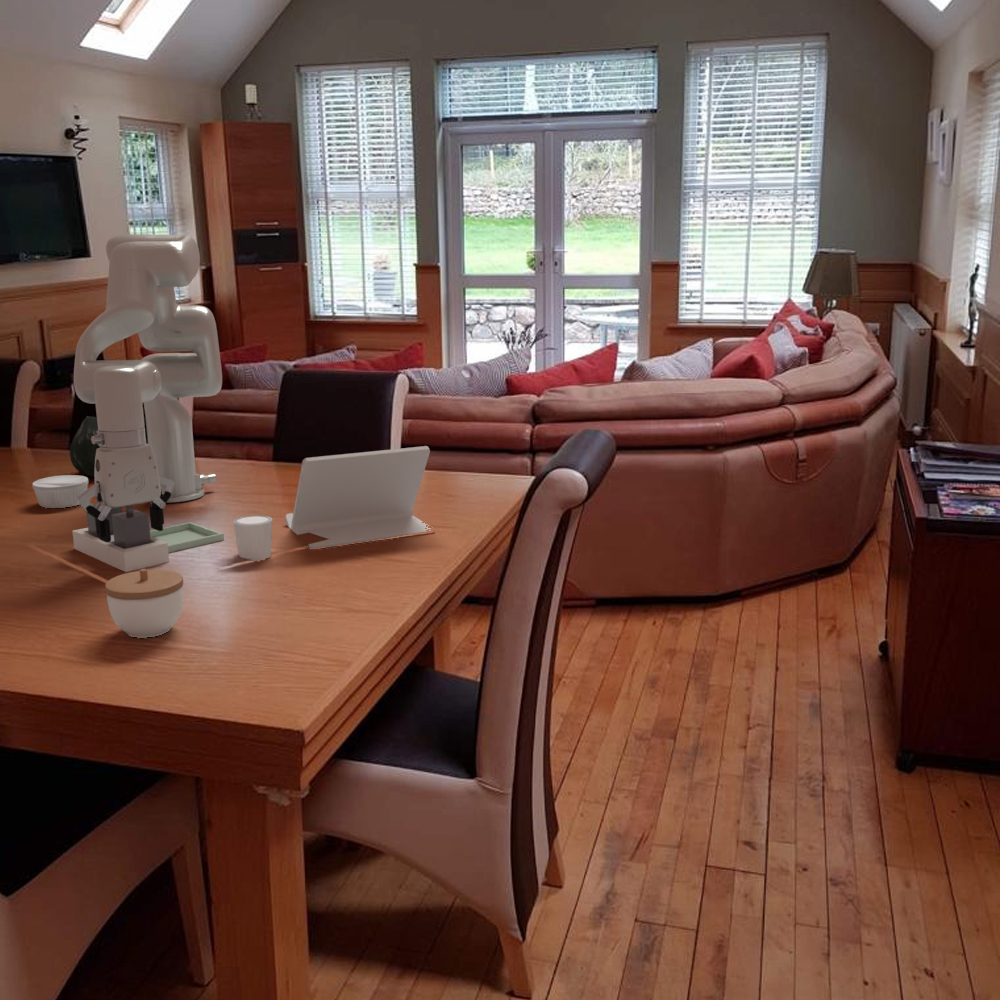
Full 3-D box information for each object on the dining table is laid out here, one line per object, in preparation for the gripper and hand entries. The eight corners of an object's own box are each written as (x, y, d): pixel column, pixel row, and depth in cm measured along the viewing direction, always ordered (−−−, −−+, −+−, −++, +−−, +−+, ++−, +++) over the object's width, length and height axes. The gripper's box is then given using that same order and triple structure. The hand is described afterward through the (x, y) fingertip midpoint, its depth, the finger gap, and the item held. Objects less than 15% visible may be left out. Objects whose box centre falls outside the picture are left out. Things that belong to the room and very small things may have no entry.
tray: (191, 530, 205) (190, 522, 204) (224, 542, 196) (223, 533, 196) (133, 543, 196) (132, 534, 196) (165, 556, 188) (164, 547, 188)
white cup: (281, 553, 190) (279, 516, 188) (261, 564, 183) (259, 526, 182) (249, 550, 192) (246, 513, 190) (227, 560, 186) (225, 522, 184)
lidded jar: (121, 619, 157) (115, 559, 155) (193, 616, 158) (188, 557, 156) (100, 646, 147) (94, 582, 145) (178, 643, 148) (173, 580, 146)
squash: (154, 450, 255) (122, 402, 257) (103, 464, 243) (69, 413, 245) (130, 483, 263) (99, 435, 265) (79, 497, 251) (47, 448, 253)
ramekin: (37, 513, 219) (34, 488, 218) (32, 501, 228) (30, 478, 227) (93, 506, 224) (91, 482, 223) (87, 495, 234) (84, 472, 232)
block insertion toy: (116, 542, 197) (110, 488, 194) (169, 564, 183) (164, 506, 181) (74, 551, 191) (68, 495, 189) (126, 575, 178) (120, 515, 175)
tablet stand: (436, 534, 203) (435, 448, 198) (312, 551, 192) (307, 461, 187) (401, 513, 218) (399, 432, 214) (284, 528, 207) (279, 443, 203)
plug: (152, 558, 184) (147, 505, 182) (128, 563, 181) (122, 510, 178) (139, 553, 187) (135, 501, 185) (116, 558, 184) (110, 505, 181)
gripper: (82, 449, 170) (93, 549, 174) (179, 434, 182) (187, 529, 186) (63, 443, 175) (73, 541, 179) (158, 429, 187) (166, 521, 191)
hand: (131, 535), depth 183 cm, fingers open, 9 cm apart
